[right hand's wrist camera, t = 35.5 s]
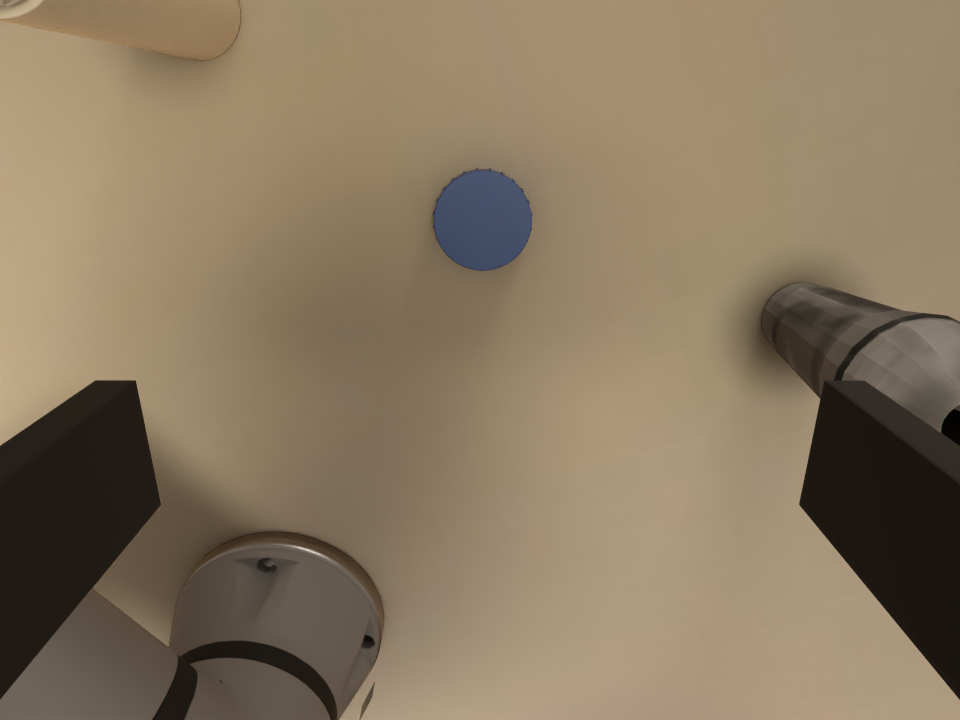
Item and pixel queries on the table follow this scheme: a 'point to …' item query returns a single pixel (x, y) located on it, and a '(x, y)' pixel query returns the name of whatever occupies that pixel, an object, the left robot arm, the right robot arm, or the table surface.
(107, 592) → the table surface
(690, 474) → the table surface
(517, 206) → the lid
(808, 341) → the beverage cup
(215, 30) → the jar
